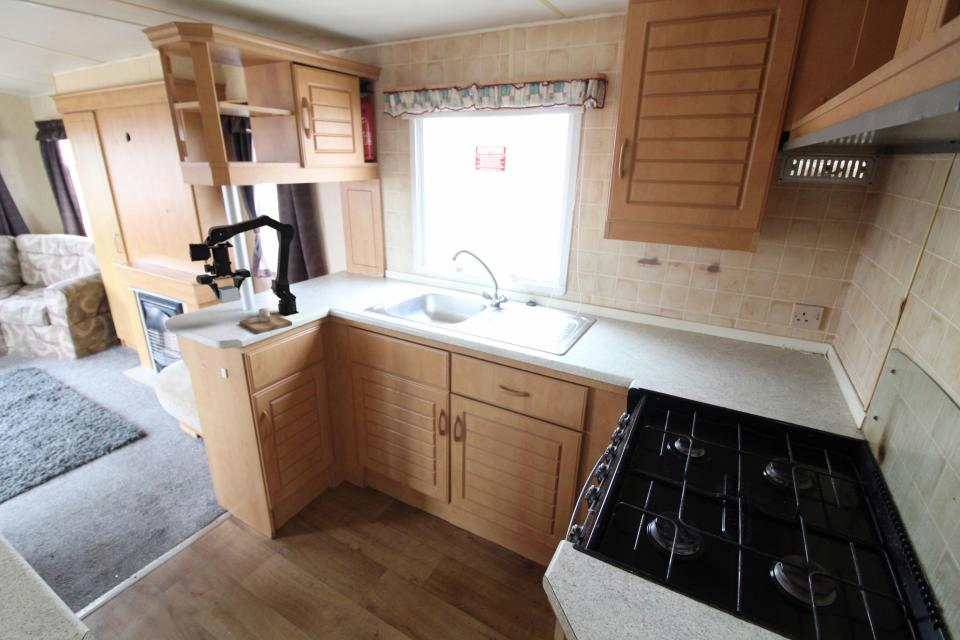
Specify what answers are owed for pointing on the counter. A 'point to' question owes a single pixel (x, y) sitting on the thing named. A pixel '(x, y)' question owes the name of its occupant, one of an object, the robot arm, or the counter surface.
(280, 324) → the board
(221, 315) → the counter surface
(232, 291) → the duct collar
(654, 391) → the counter surface
